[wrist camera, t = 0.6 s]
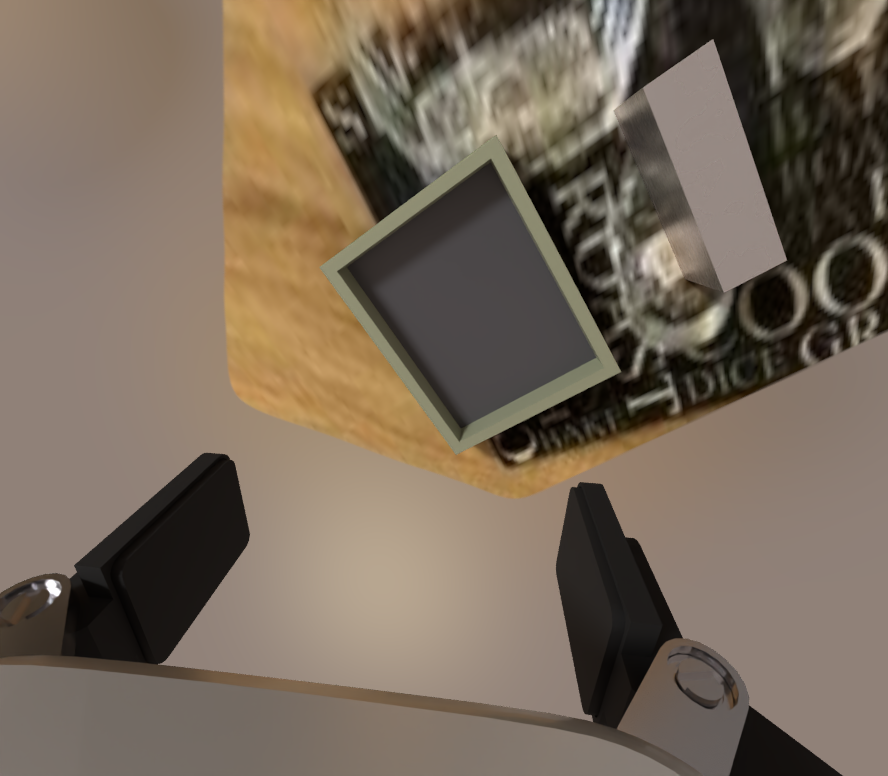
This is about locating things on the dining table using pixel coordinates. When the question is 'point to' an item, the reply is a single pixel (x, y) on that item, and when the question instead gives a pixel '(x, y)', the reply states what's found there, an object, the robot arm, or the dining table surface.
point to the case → (473, 302)
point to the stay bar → (701, 173)
